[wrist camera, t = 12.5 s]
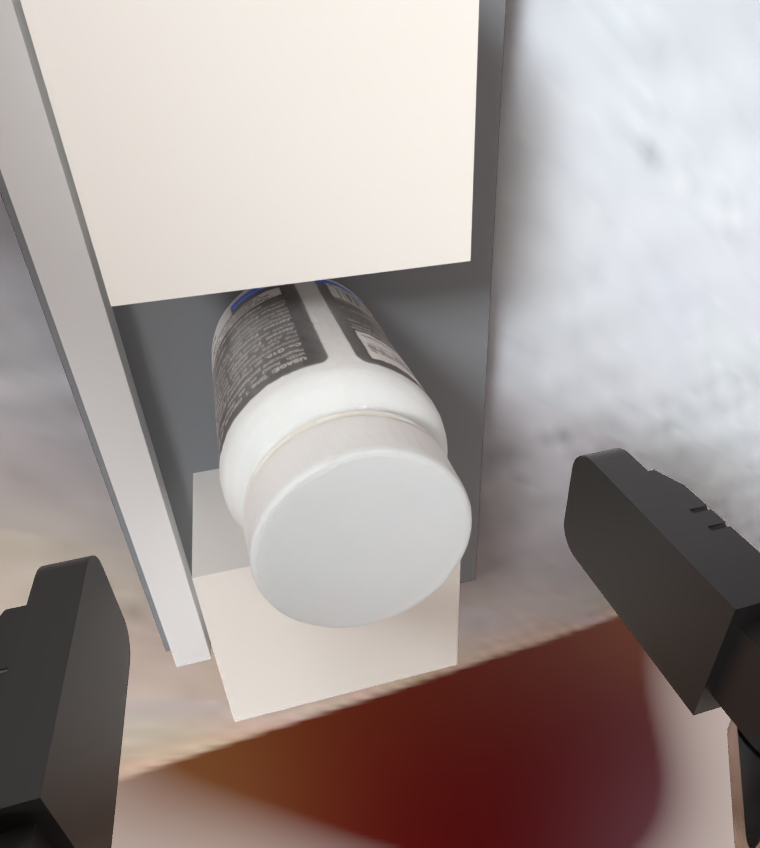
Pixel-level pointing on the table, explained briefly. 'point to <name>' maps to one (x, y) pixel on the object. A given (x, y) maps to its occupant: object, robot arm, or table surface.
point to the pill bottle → (332, 458)
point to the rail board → (252, 265)
